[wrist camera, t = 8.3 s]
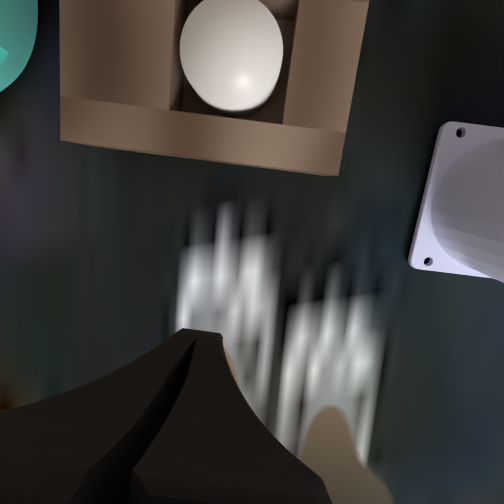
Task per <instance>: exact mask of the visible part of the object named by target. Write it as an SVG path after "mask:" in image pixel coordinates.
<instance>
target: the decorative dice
mask: <svg viewBox="0 0 504 504" xmlns="http://www.w3.org/2000/svg"><path fill="white" fill-rule="evenodd" d="M37 23H38V2H37V0H0V92H1V91H2V90H4V89H5V88H6V87H8V86H9V85H10V84H11V83H12V82H13V81H14V80H15V79H16V78H17V77H18V76H19V75H20V74H21V72H22V71H23V69H24V68H25V66H26V64H27V62H28V60H29V58H30V56H31V53H32V50H33V47H34V43H35V38H36V32H37Z"/></svg>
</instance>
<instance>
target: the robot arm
mask: <svg viewBox="0 0 504 504" xmlns="http://www.w3.org/2000/svg"><path fill="white" fill-rule="evenodd" d="M457 129H460V130H461V131H462V134H461V136H460V137H459V138H458V137H457V136H456V131H457ZM427 257H429V260H430V261H429V262H428V263H427V264H424V260H425V259H426V258H427ZM408 262H409V264H410V265H411V266H412V267H414V268H416V269H422V270H430V271H438V272H447V273H455V274H463V275H471V276H479V277H487V278H494V279H496V280H499V281H501V282H503V283H504V128H500V127H493V126H485V125H477V124H469V123H462V122H454V121H453V122H447V123H445V124H443V125H442V126H441V127H440V129H439V131H438V136H437V140H436V144H435V148H434V152H433V157H432V161H431V165H430V169H429V173H428V178H427V182H426V186H425V190H424V194H423V199H422V203H421V207H420V211H419V215H418V220H417V224H416V228H415V232H414V236H413V240H412V245H411V249H410V253H409V257H408ZM0 504H332V502H331V499H330V497H329V494H328V492H327V489H326V487H325V484H324V482H323V480H322V479H321V478H320V477H319V476H318V475H317V474H316V473H314V472H313V471H312V470H311V469H310V468H308V467H307V466H306V465H305V464H303V463H302V462H301V461H300V460H299V459H297V458H296V457H295V456H294V455H292V454H291V453H290V452H289V451H288V450H287V449H286V448H285V447H284V446H283V445H282V444H281V443H280V442H279V441H278V440H277V439H276V438H275V437H274V436H273V435H272V434H271V433H270V432H269V431H268V429H267V428H266V427H265V426H264V425H263V423H262V422H261V421H260V420H259V419H258V417H257V416H256V415H255V413H254V412H253V410H252V409H251V407H250V406H249V404H248V403H247V401H246V400H245V398H244V396H243V395H242V393H241V391H240V389H239V387H238V385H237V383H236V381H235V379H234V377H233V375H232V372H231V370H230V367H229V364H228V362H227V359H226V356H225V352H224V348H223V337H222V335H221V334H220V333H214V332H207V331H199V330H192V329H185V328H182V329H181V330H179V331H178V332H176V333H175V334H173V335H172V336H171V337H169V338H168V339H166V340H165V341H164V342H162V343H161V344H159V345H158V346H156V347H155V348H153V349H152V350H151V351H149V352H148V353H146V354H144V355H143V356H141V357H139V358H137V359H136V360H134V361H132V362H131V363H129V364H127V365H126V366H124V367H122V368H120V369H118V370H116V371H114V372H112V373H110V374H108V375H106V376H104V377H102V378H100V379H97V380H95V381H93V382H91V383H88V384H86V385H83V386H81V387H78V388H75V389H73V390H70V391H67V392H65V393H62V394H59V395H57V396H54V397H51V398H48V399H45V400H41V401H38V402H35V403H32V404H28V405H25V406H21V407H18V408H14V409H10V410H7V411H3V412H0Z"/></svg>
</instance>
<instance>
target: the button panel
mask: <svg viewBox="0 0 504 504" xmlns="http://www.w3.org/2000/svg"><path fill="white" fill-rule="evenodd" d="M202 1H204V0H59V8H60V136H61V140H63V141H68V142H73V143H79V144H84V145H89V146H96V147H104V148H111V149H119V150H127V151H135V152H143V153H151V154H159V155H166V156H174V157H182V158H190V159H198V160H206V161H214V162H221V163H229V164H237V165H245V166H253V167H261V168H269V169H276V170H284V171H292V172H300V173H308V174H316V175H324V176H335V175H338V174H339V168H340V162H341V157H342V151H343V145H344V140H345V134H346V129H347V123H348V117H349V112H350V106H351V101H352V95H353V89H354V84H355V78H356V72H357V67H358V61H359V56H360V50H361V44H362V39H363V33H364V28H365V22H366V16H367V11H368V5H369V0H258V1H260V2H261V3H262V4H263V5H264V6H265V7H267V8H268V10H269V11H270V12H271V13H272V15H273V16H274V18H275V20H276V22H277V24H278V26H279V29H280V32H281V36H282V42H283V58H282V63H281V68H280V73H279V78H278V83H277V86H276V89H275V91H274V94H273V96H272V97H271V99H270V100H269V102H268V103H267V104H266V105H265V106H264V107H263V108H262V109H260V110H259V111H258V112H256V113H254V114H252V115H250V116H247V117H242V118H230V117H225V116H222V115H220V114H218V113H216V112H214V111H213V110H211V109H210V108H209V107H208V106H207V105H206V104H205V103H204V102H203V101H202V99H201V98H200V97H199V95H198V94H197V92H196V91H195V90H194V88H193V87H192V85H191V84H190V82H189V81H188V79H187V77H186V75H185V73H184V70H183V67H182V63H181V59H180V39H181V34H182V30H183V27H184V25H185V22H186V20H187V19H188V17H189V15H190V14H191V12H192V11H193V10H194V9H195V8H196V7H197V6H198V5H199V4H200V3H201V2H202Z"/></svg>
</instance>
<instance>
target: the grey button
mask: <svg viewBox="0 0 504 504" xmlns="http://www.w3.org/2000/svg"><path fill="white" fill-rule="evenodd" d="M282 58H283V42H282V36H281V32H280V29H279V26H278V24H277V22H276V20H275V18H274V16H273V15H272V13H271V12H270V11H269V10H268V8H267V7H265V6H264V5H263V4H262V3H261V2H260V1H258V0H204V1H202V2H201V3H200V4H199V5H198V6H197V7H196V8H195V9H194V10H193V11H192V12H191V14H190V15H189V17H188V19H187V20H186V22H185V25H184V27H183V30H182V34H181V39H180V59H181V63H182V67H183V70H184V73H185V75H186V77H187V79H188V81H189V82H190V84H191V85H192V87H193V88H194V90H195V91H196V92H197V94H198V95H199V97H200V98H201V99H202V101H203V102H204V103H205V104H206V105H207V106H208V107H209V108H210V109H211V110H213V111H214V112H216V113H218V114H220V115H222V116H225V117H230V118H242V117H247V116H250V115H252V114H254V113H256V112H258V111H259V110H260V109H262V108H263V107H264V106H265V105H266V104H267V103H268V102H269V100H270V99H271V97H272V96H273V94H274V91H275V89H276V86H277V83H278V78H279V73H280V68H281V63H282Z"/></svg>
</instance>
